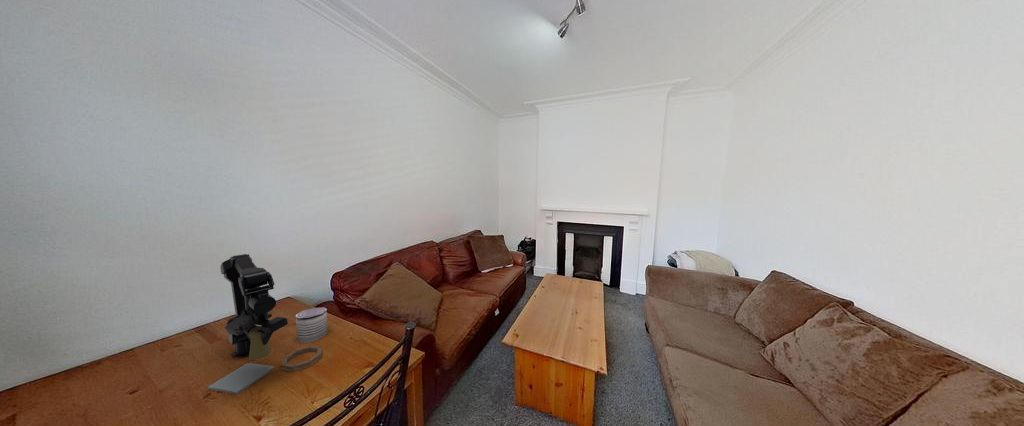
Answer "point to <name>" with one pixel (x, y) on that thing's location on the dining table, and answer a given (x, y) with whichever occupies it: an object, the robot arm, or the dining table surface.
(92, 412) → the dining table surface
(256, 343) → the cork
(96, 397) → the dining table surface
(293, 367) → the walnut holder
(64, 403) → the dining table surface
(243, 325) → the robot arm
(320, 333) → the can
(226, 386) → the slate mat
